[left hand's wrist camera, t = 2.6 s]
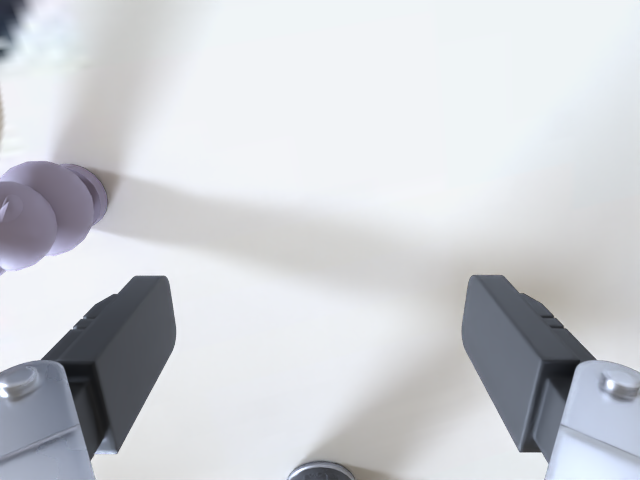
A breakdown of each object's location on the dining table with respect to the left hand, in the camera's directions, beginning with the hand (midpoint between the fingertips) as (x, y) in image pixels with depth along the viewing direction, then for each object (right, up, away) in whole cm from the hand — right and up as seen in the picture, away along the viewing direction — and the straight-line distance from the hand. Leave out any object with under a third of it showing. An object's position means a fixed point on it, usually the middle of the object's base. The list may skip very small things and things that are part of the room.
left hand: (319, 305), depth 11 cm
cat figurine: (-24, +6, +29) cm, 38 cm away
